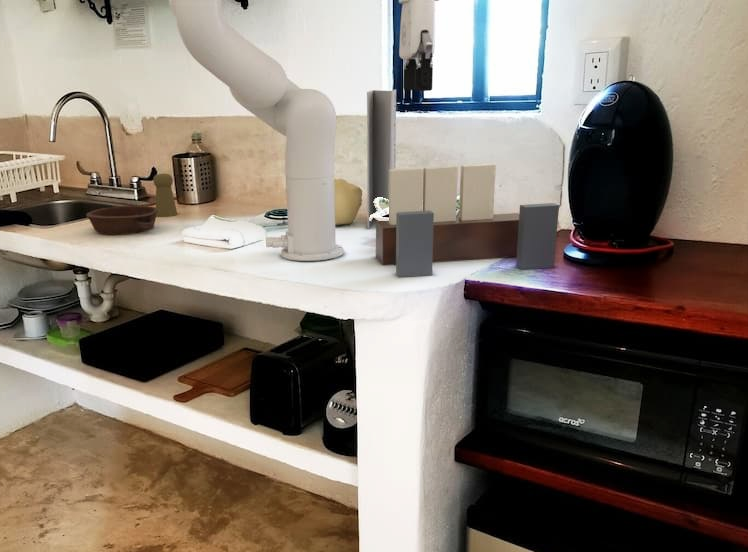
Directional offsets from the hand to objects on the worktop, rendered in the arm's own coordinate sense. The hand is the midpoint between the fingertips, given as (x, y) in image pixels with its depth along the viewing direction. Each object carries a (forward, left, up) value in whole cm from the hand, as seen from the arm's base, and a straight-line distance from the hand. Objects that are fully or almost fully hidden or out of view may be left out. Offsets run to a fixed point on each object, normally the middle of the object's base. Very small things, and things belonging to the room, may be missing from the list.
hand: (417, 90), depth 150 cm
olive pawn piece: (-56, +58, -31) cm, 86 cm away
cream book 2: (+2, -13, -23) cm, 27 cm away
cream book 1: (-5, -13, -23) cm, 27 cm away
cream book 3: (+9, -13, -23) cm, 28 cm away
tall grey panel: (-2, +26, -31) cm, 40 cm away
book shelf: (+4, -13, -30) cm, 33 cm away
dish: (-65, +37, -31) cm, 81 cm away
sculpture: (-13, +28, -31) cm, 43 cm away
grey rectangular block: (+16, -25, -30) cm, 42 cm away
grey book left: (-6, -25, -30) cm, 40 cm away
